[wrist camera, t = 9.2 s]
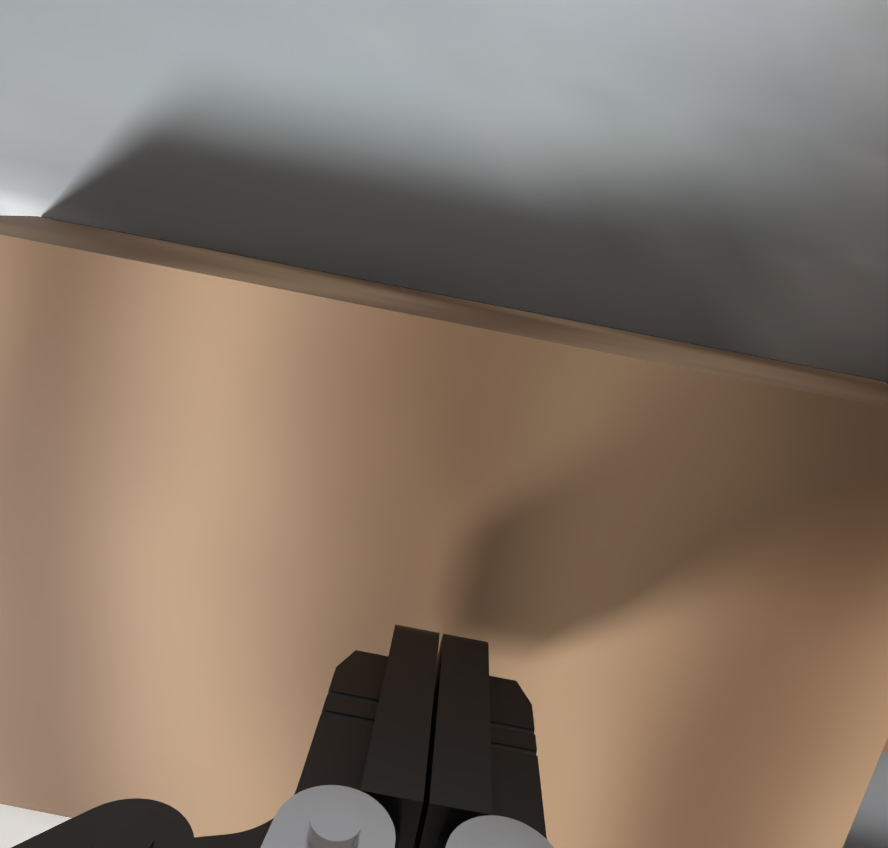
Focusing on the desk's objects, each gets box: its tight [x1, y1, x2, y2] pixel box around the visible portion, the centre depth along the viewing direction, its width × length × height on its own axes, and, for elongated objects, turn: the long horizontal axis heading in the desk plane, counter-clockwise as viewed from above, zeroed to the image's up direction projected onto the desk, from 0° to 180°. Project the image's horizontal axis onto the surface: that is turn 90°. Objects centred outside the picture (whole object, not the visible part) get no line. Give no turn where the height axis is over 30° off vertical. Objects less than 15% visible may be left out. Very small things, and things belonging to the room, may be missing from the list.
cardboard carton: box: [0, 216, 888, 848], centre depth 15 cm, size 18×11×4 cm, turn 79°
